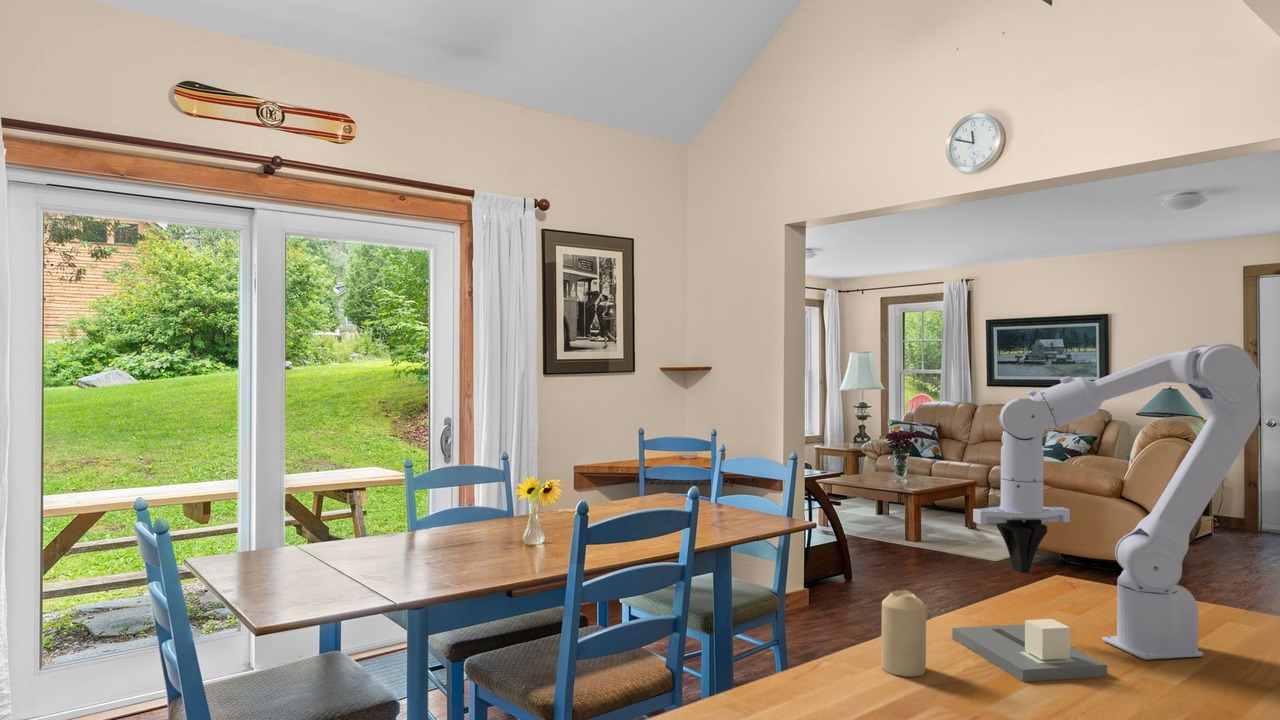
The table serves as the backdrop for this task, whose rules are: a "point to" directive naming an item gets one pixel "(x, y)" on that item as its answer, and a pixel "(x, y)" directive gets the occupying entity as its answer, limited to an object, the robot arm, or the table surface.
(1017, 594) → the table surface
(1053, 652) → the knob
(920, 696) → the table surface
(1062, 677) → the slider board
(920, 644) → the candle
